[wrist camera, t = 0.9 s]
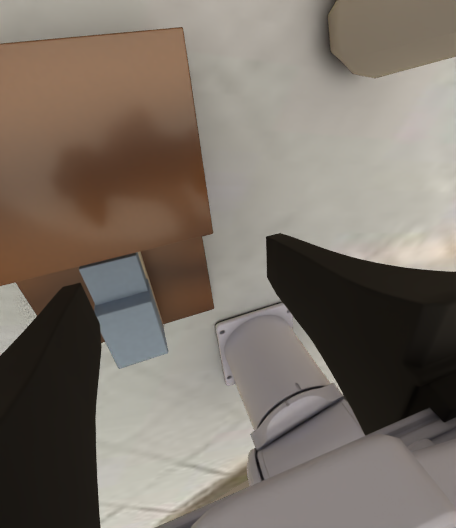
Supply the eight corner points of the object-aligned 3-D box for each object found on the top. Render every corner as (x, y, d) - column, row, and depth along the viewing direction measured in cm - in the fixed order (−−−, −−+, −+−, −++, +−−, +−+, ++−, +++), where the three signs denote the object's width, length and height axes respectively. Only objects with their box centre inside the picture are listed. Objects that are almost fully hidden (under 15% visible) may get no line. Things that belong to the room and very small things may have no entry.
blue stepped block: (162, 321, 23) (169, 355, 20) (118, 334, 23) (119, 371, 20) (134, 232, 19) (137, 259, 16) (78, 244, 18) (72, 276, 15)
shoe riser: (209, 297, 26) (229, 342, 21) (64, 340, 23) (53, 401, 19) (163, 42, 16) (183, 26, 11) (-101, 68, 13) (-210, 62, 9)
